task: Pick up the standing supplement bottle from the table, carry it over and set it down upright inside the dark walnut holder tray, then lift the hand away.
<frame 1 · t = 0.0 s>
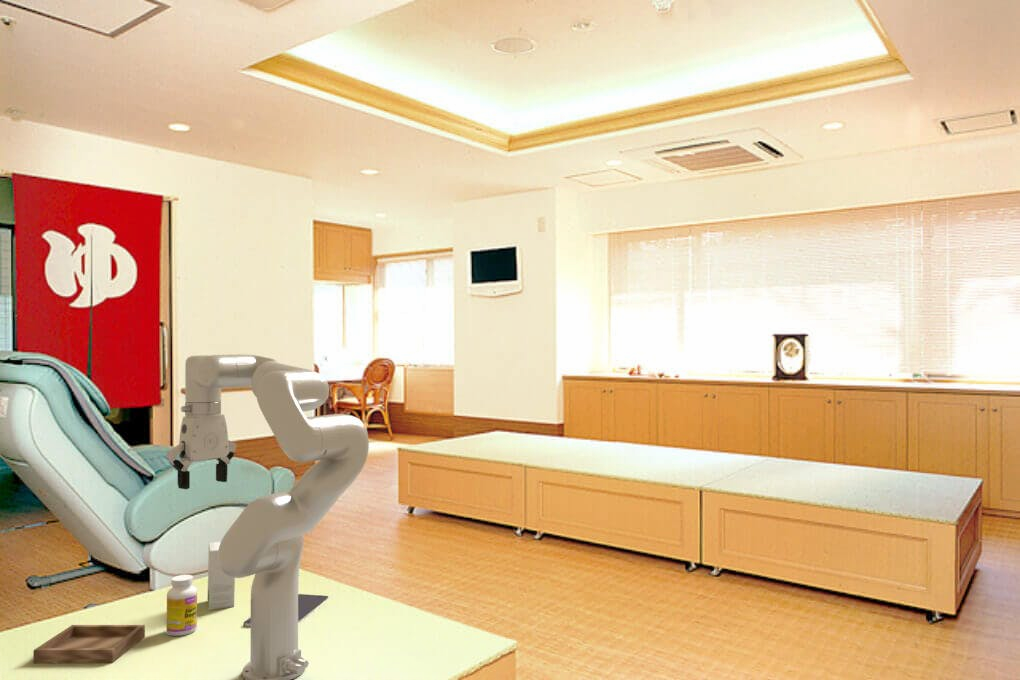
hand: (203, 484, 165), 37 cm above the table, tool pointing down, fingers open, 9 cm apart
supplement bottle: (181, 632, 174), on the table
skincare box: (221, 604, 193), on the table
holder tray: (91, 649, 164), on the table
notebook: (288, 615, 187), on the table
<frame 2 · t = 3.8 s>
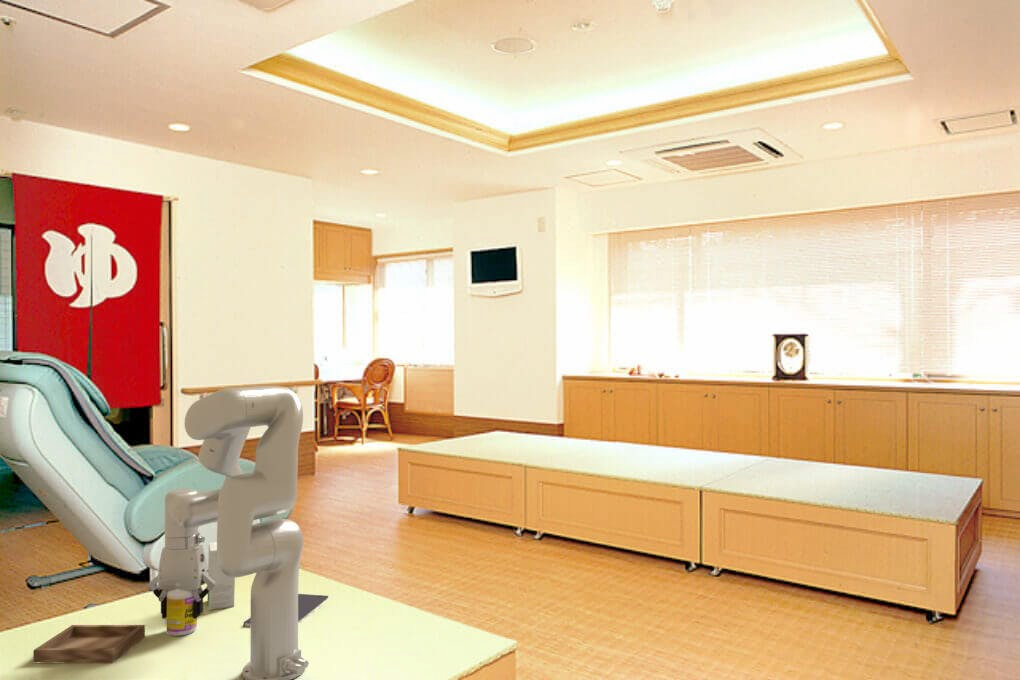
hand: (181, 615, 174), 4 cm above the table, tool pointing down, fingers closed on supplement bottle, 6 cm apart
supplement bottle: (181, 632, 174), on the table, touching gripper
everything else where it was.
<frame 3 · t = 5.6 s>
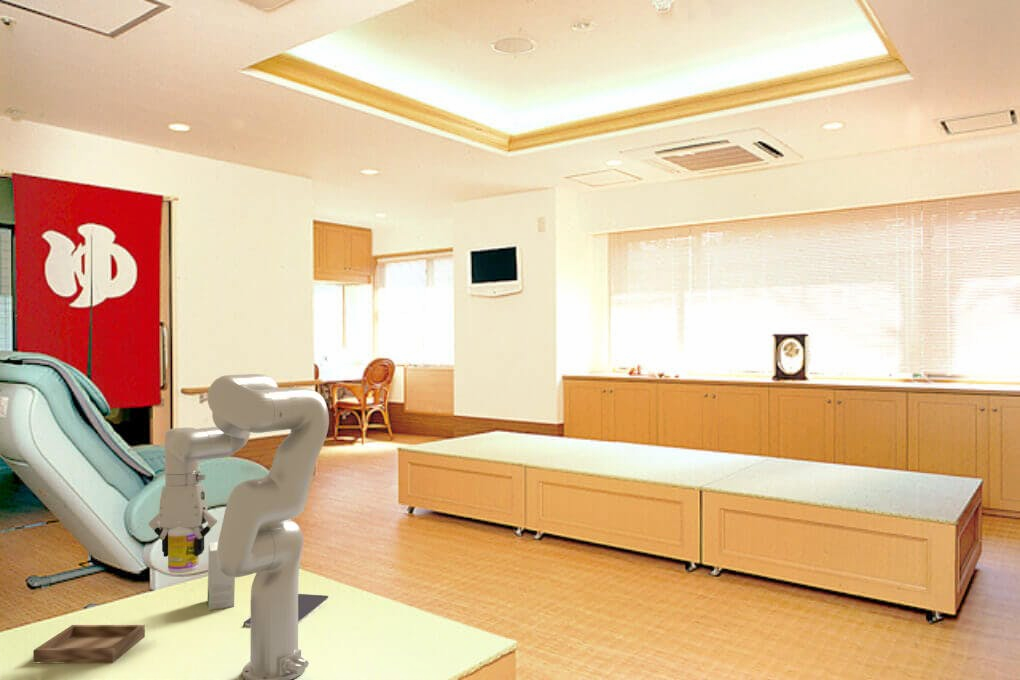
hand: (183, 554, 174), 19 cm above the table, tool pointing down, fingers closed on supplement bottle, 6 cm apart
supplement bottle: (183, 570, 174), point 15 cm above the table, touching gripper
everything else where it was.
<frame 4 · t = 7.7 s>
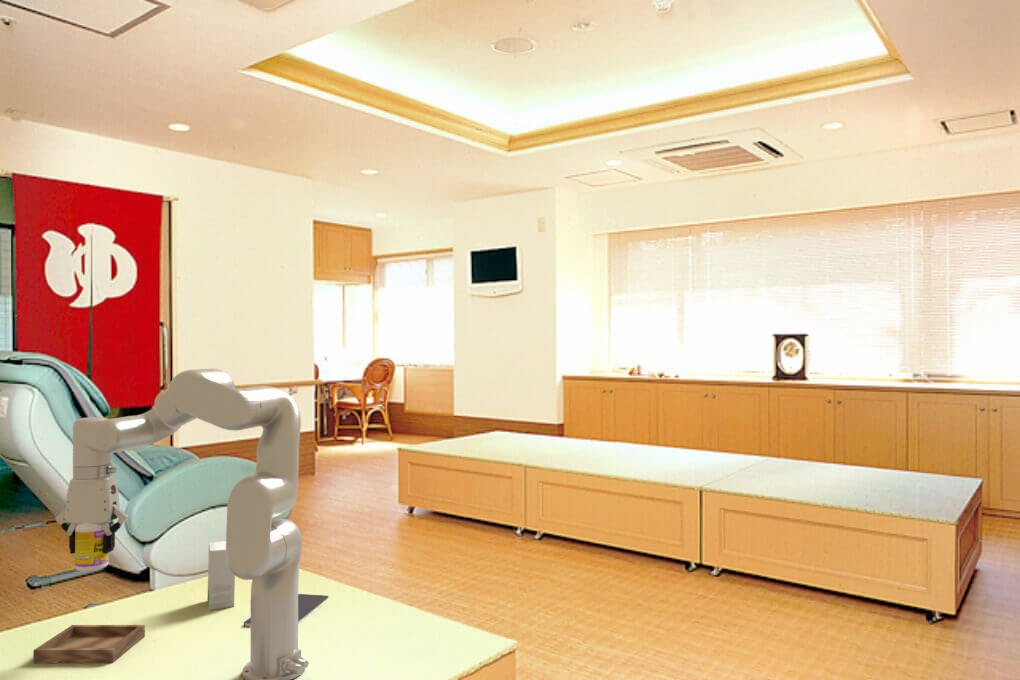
hand: (92, 551, 164), 22 cm above the table, tool pointing down, fingers closed on supplement bottle, 6 cm apart
supplement bottle: (92, 568, 164), point 18 cm above the table, touching gripper
everything else where it was.
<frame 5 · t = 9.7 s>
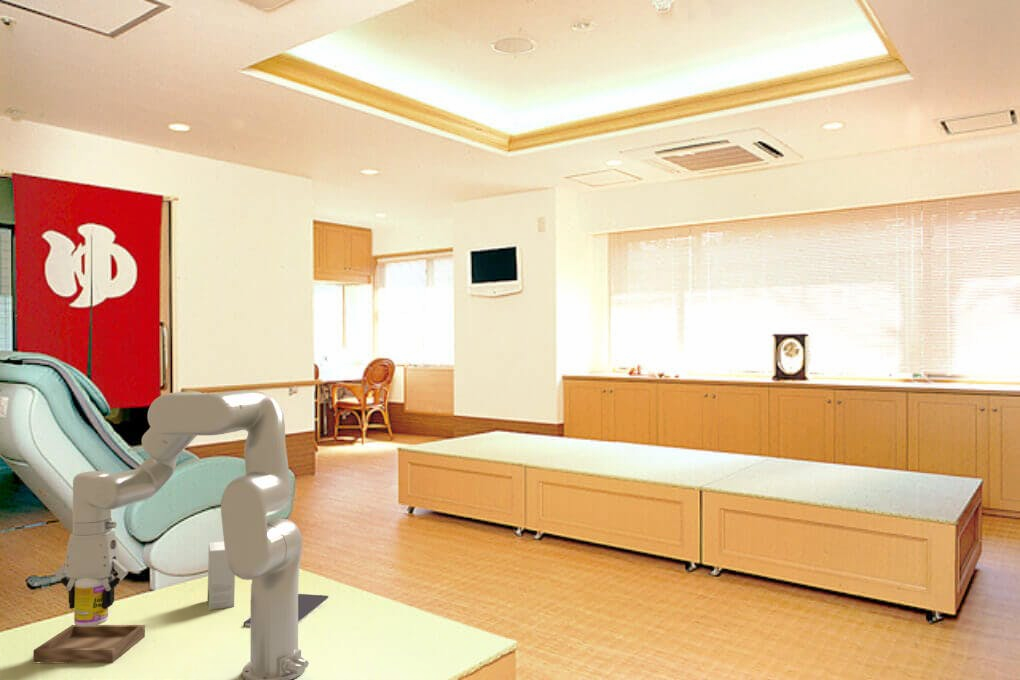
hand: (91, 605, 164), 10 cm above the table, tool pointing down, fingers closed on supplement bottle, 6 cm apart
supplement bottle: (91, 623, 164), point 6 cm above the table, touching gripper
everything else where it was.
when the fingers open (6 cm above the table, at t = 11.5 s): supplement bottle drops 1 cm, resting on holder tray.
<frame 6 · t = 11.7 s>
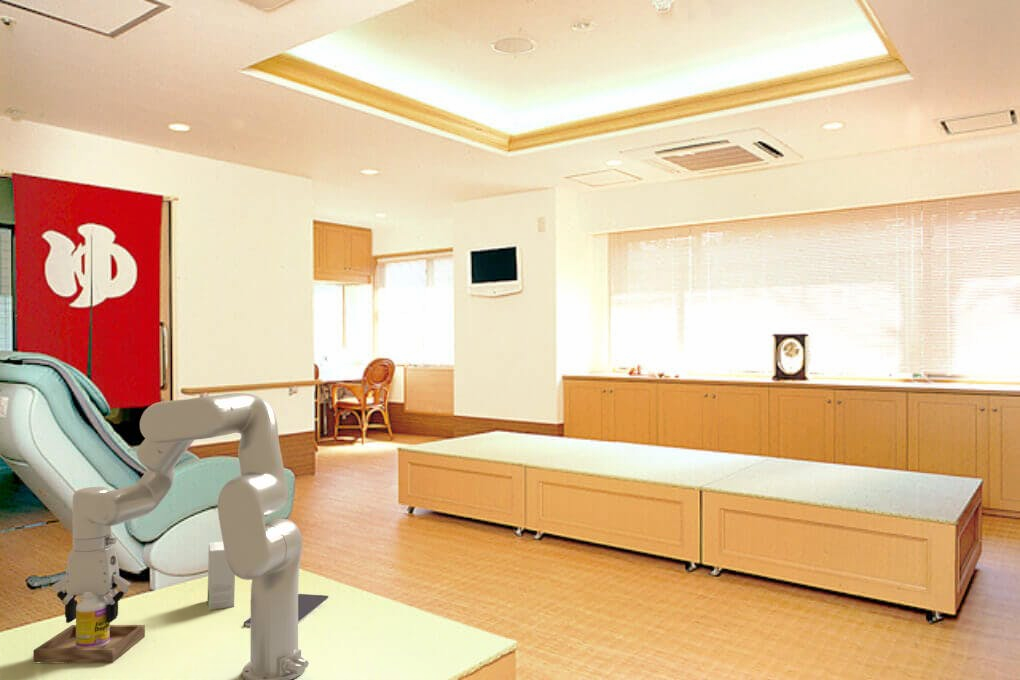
hand: (91, 620, 164), 7 cm above the table, tool pointing down, fingers open, 8 cm apart
supplement bottle: (93, 646, 164), point 1 cm above the table, touching holder tray
everything else where it was.
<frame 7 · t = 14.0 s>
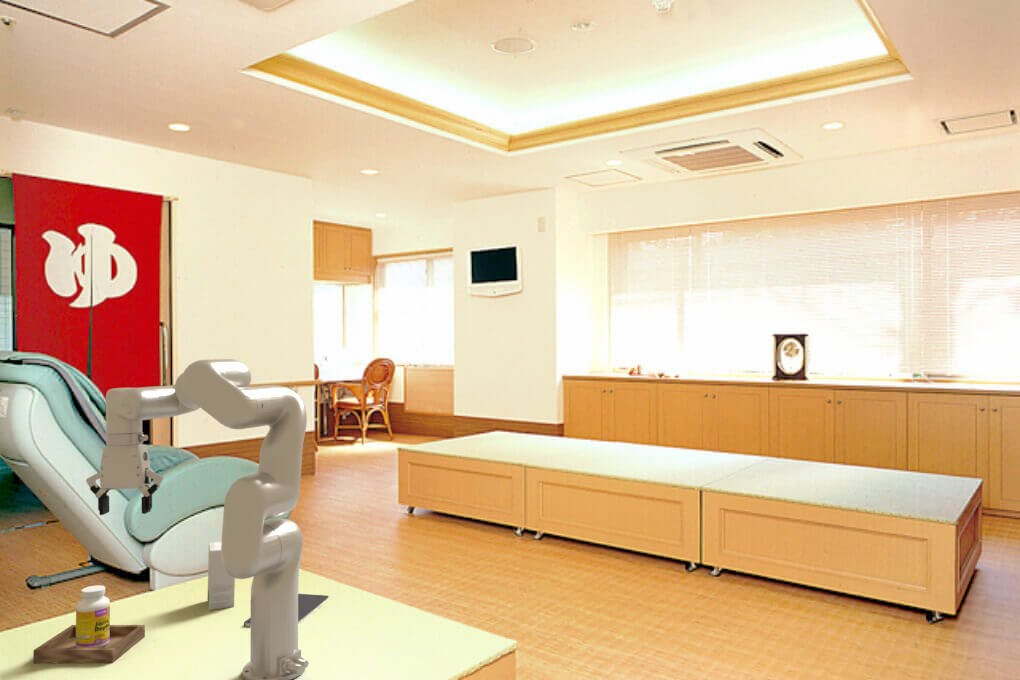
hand: (125, 513, 171), 29 cm above the table, tool pointing down, fingers open, 9 cm apart
nothing on the table moved.
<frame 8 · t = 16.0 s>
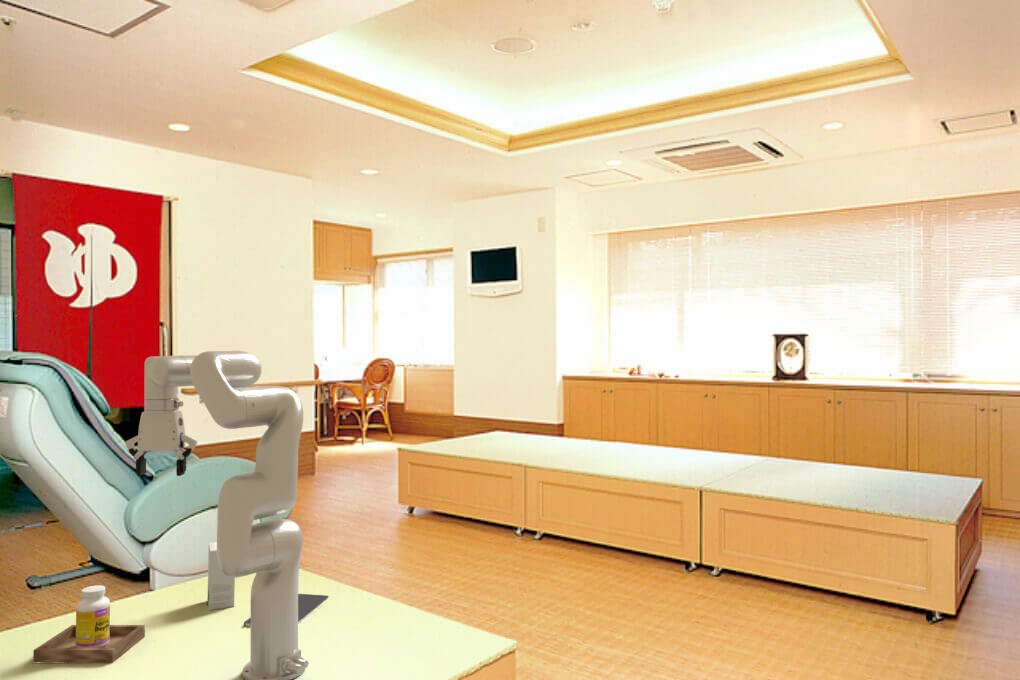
hand: (161, 475, 180), 36 cm above the table, tool pointing down, fingers open, 9 cm apart
nothing on the table moved.
at the end: supplement bottle inside the target area on the holder tray (0.4 cm from its centre), point 0.6 cm above the holder tray's base; supplement bottle tilted 0°; the gripper is holding nothing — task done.
